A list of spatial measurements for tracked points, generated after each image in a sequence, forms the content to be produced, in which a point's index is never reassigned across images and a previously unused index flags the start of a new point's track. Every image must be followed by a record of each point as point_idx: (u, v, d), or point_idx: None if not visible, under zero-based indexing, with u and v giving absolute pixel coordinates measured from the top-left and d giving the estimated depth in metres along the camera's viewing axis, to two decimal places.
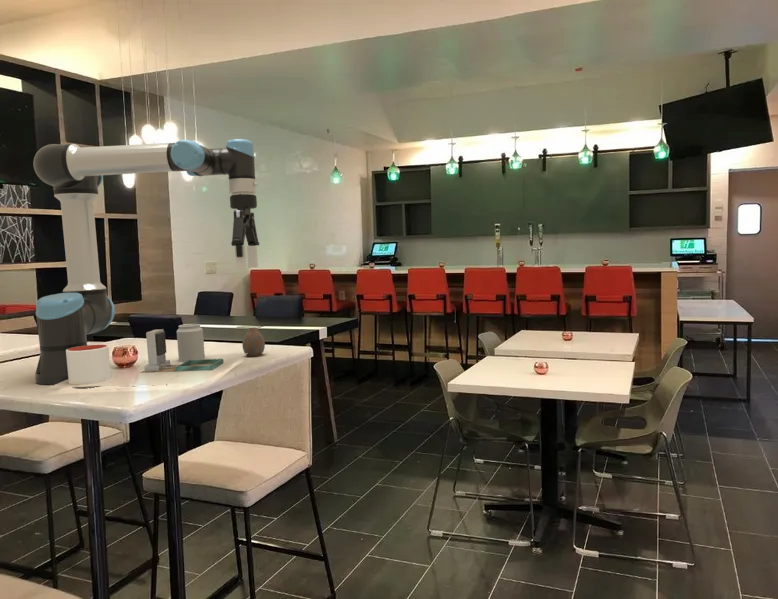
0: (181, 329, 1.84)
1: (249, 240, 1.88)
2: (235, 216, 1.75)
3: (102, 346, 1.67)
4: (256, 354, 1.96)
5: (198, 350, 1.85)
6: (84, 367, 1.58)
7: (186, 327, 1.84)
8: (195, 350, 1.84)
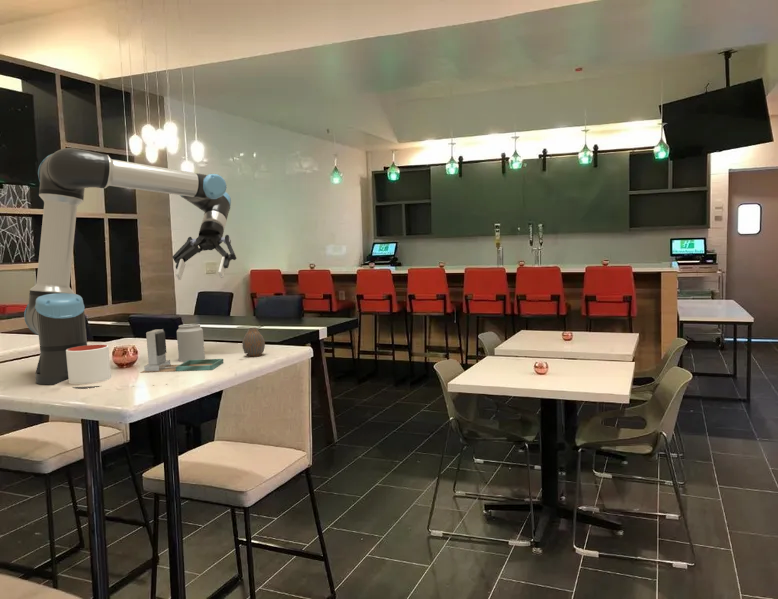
0: (181, 329, 1.84)
1: (185, 256, 2.00)
2: (228, 239, 2.03)
3: (102, 346, 1.67)
4: (256, 354, 1.96)
5: (198, 350, 1.85)
6: (84, 367, 1.58)
7: (186, 327, 1.84)
8: (195, 350, 1.84)
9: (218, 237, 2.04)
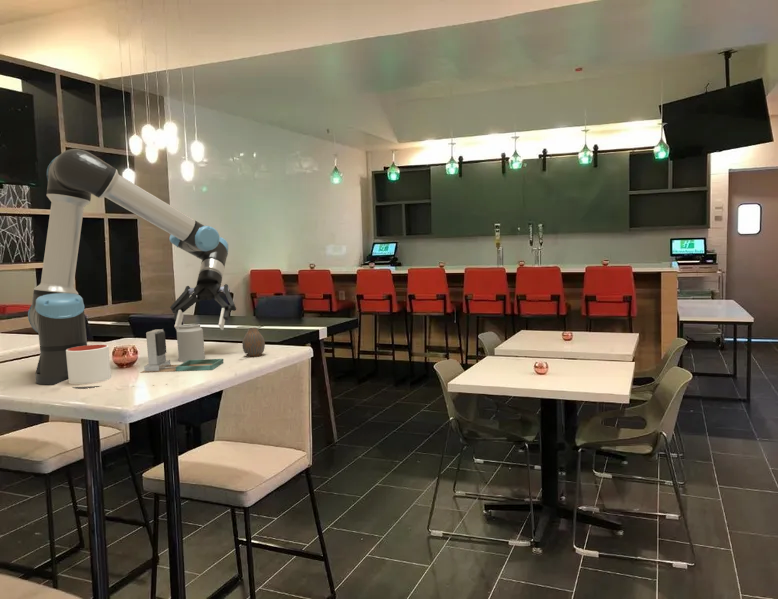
0: (181, 329, 1.84)
1: (183, 307, 1.97)
2: (227, 289, 2.00)
3: (102, 346, 1.67)
4: (256, 354, 1.96)
5: (198, 350, 1.85)
6: (84, 367, 1.58)
7: (186, 327, 1.84)
8: (195, 350, 1.84)
9: (217, 286, 2.01)
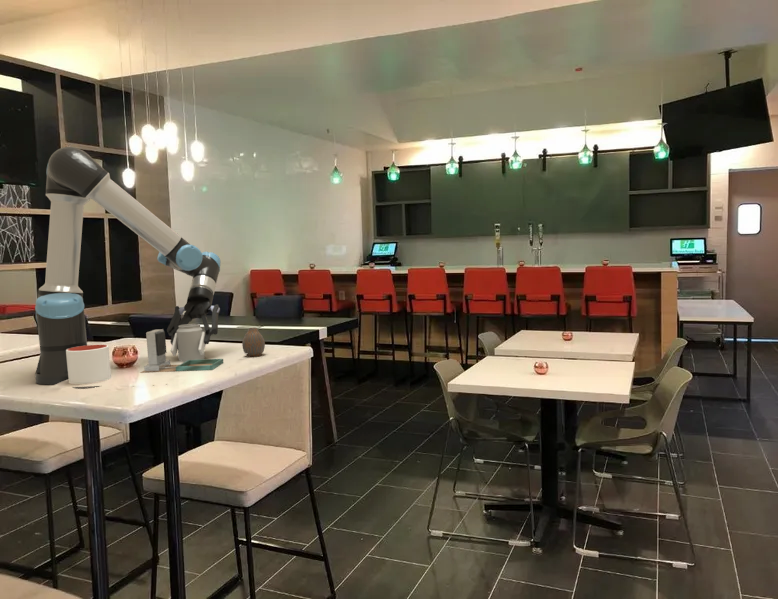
0: (181, 329, 1.84)
1: None
2: (216, 310, 1.93)
3: (102, 346, 1.67)
4: (256, 354, 1.96)
5: (198, 350, 1.85)
6: (84, 367, 1.58)
7: (186, 327, 1.84)
8: (195, 350, 1.84)
9: (208, 305, 1.94)
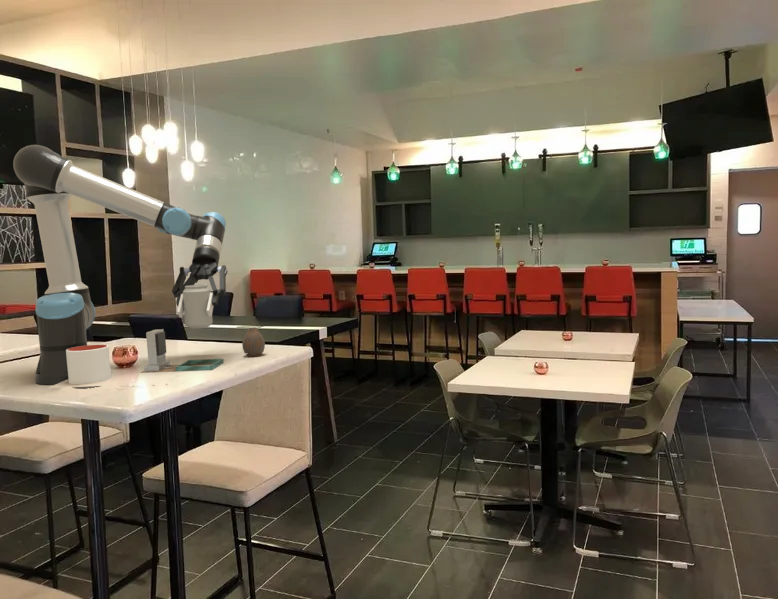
0: (188, 289, 1.75)
1: None
2: (224, 270, 1.84)
3: (102, 346, 1.67)
4: (256, 354, 1.96)
5: (206, 311, 1.76)
6: (84, 367, 1.58)
7: (193, 287, 1.74)
8: (203, 311, 1.75)
9: (214, 265, 1.84)
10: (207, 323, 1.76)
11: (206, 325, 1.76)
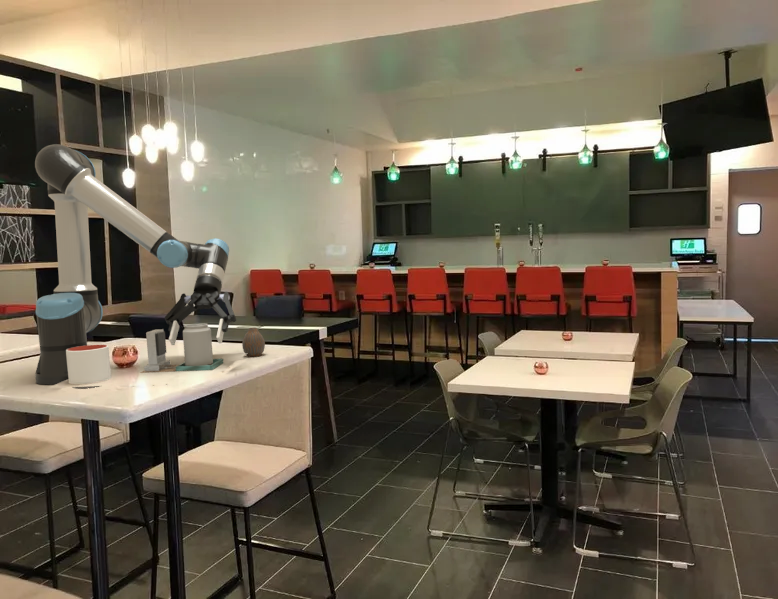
0: (187, 329, 1.71)
1: (179, 317, 1.76)
2: (227, 297, 1.80)
3: (102, 346, 1.67)
4: (256, 354, 1.96)
5: (205, 352, 1.72)
6: (84, 367, 1.58)
7: (193, 327, 1.70)
8: (202, 351, 1.71)
9: (216, 294, 1.80)
10: (207, 364, 1.72)
11: None
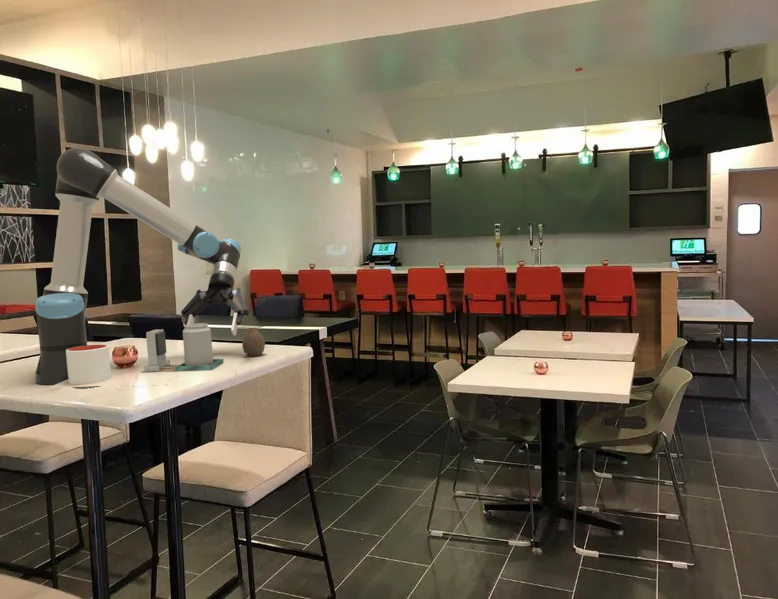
0: (187, 329, 1.71)
1: (194, 312, 1.89)
2: (240, 293, 1.93)
3: (102, 346, 1.67)
4: (256, 354, 1.96)
5: (205, 352, 1.72)
6: (84, 367, 1.58)
7: (193, 327, 1.70)
8: (202, 351, 1.71)
9: (229, 290, 1.93)
10: (207, 364, 1.72)
11: None
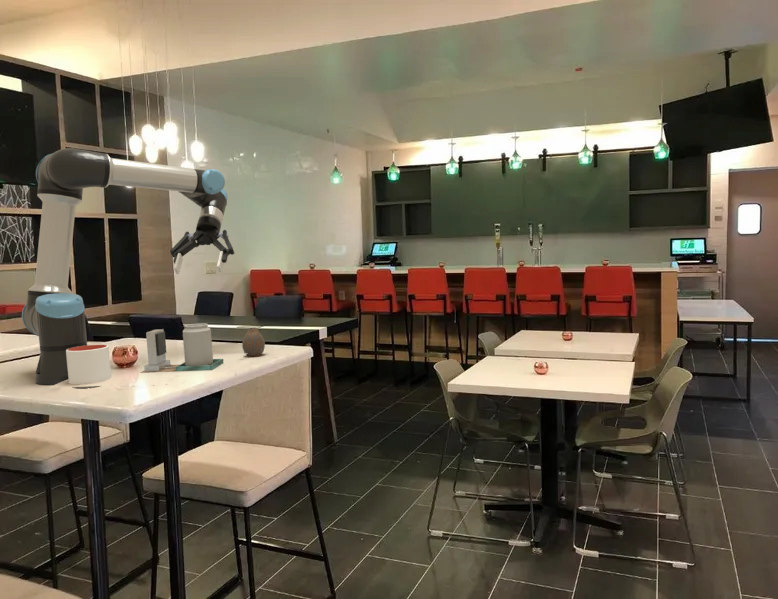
0: (187, 329, 1.71)
1: (183, 251, 2.01)
2: (226, 234, 2.04)
3: (102, 346, 1.67)
4: (256, 354, 1.96)
5: (205, 352, 1.72)
6: (84, 367, 1.58)
7: (193, 327, 1.70)
8: (202, 351, 1.71)
9: (216, 232, 2.05)
10: (207, 364, 1.72)
11: None
